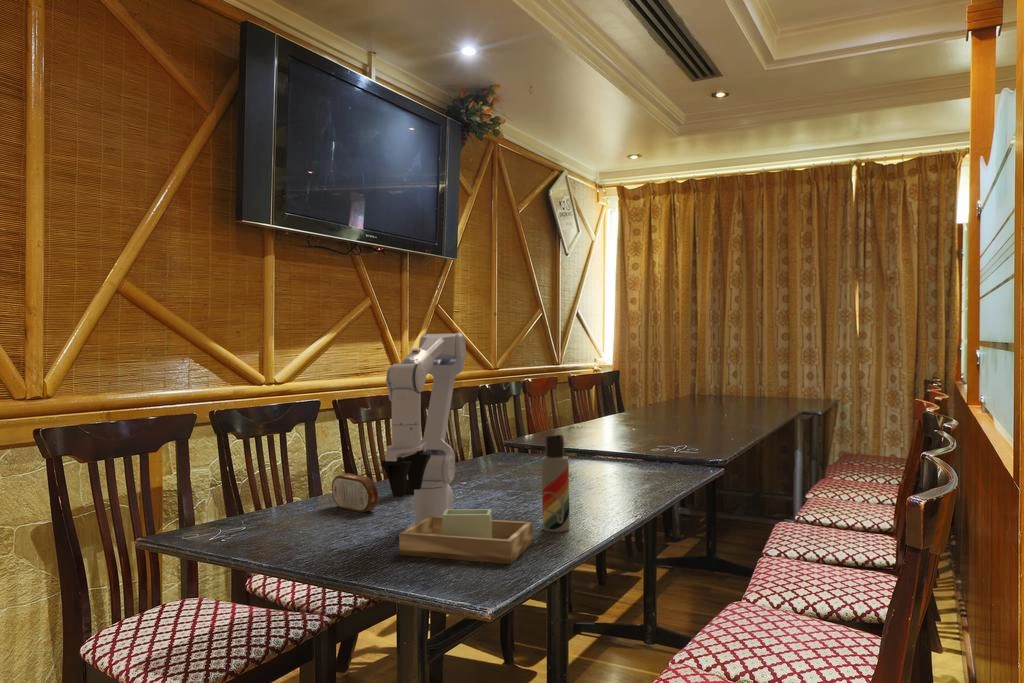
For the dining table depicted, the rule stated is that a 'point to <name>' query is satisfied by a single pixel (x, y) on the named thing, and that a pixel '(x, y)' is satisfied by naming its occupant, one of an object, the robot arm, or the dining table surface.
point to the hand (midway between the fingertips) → (407, 492)
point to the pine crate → (467, 542)
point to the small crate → (467, 522)
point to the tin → (354, 492)
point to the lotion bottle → (555, 486)
